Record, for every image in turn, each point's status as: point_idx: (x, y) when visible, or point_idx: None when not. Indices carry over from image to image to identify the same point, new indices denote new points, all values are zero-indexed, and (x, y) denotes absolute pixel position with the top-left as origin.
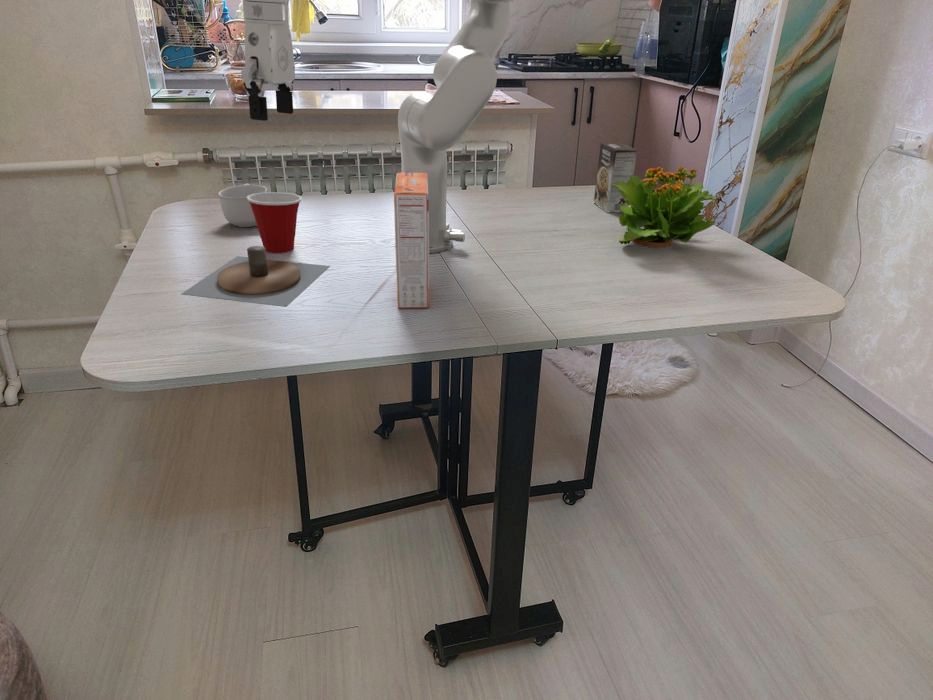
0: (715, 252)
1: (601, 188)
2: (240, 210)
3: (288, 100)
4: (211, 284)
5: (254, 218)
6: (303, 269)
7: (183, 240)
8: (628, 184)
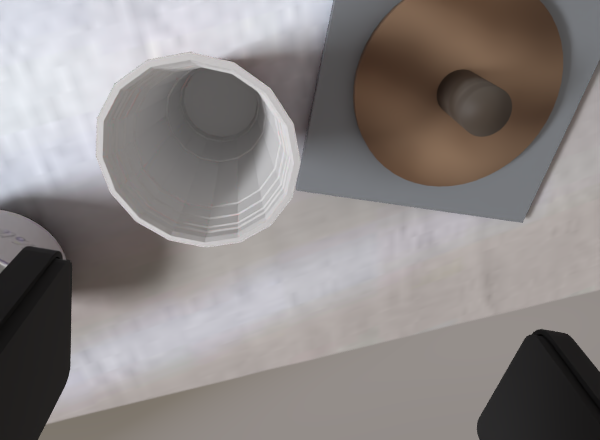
0: None
1: None
2: None
3: (7, 368)
4: (477, 185)
5: (42, 231)
6: None
7: (187, 330)
8: None
